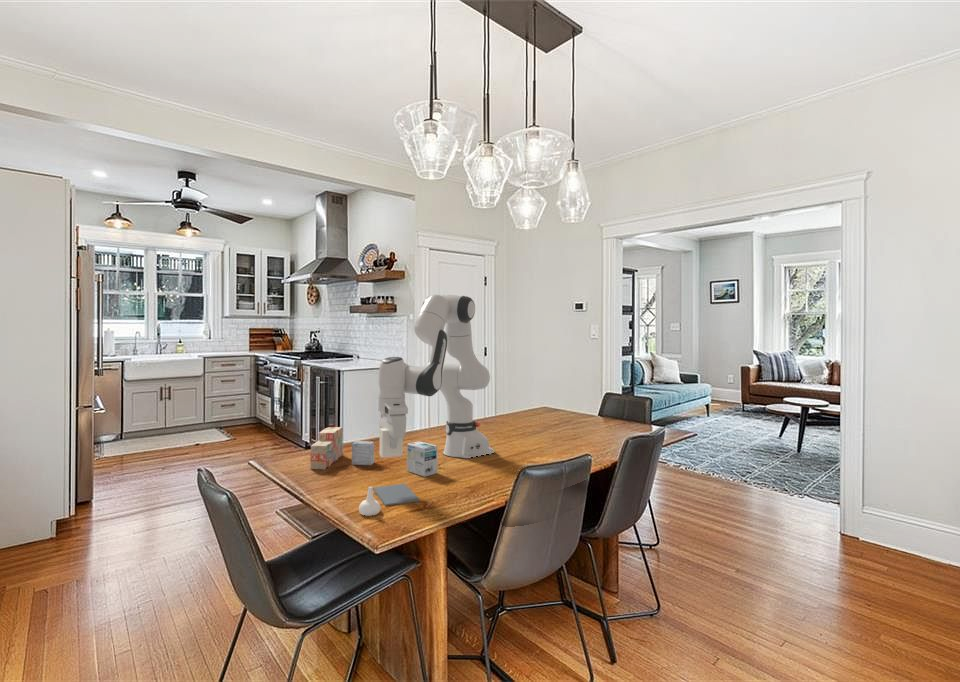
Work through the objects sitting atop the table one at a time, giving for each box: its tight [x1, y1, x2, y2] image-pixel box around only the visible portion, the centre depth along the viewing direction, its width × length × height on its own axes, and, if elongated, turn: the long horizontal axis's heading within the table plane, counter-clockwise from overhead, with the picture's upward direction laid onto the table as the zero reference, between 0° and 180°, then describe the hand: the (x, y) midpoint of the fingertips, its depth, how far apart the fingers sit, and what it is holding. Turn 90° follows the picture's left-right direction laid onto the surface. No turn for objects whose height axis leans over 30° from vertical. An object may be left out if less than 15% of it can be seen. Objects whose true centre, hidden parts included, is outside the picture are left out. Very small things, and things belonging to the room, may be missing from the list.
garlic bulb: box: [358, 486, 381, 517], centre depth 146 cm, size 6×6×8 cm
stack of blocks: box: [310, 426, 344, 470], centre depth 199 cm, size 21×6×12 cm, turn 179°
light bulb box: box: [406, 440, 438, 477], centre depth 187 cm, size 11×7×11 cm, turn 47°
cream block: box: [378, 428, 404, 459], centre depth 166 cm, size 7×4×9 cm, turn 115°
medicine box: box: [351, 440, 375, 466], centre depth 197 cm, size 8×4×9 cm, turn 84°
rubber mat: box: [372, 483, 421, 507], centre depth 161 cm, size 11×17×1 cm, turn 25°
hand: (391, 446), depth 166 cm, fingers closed on cream block, 4 cm apart
